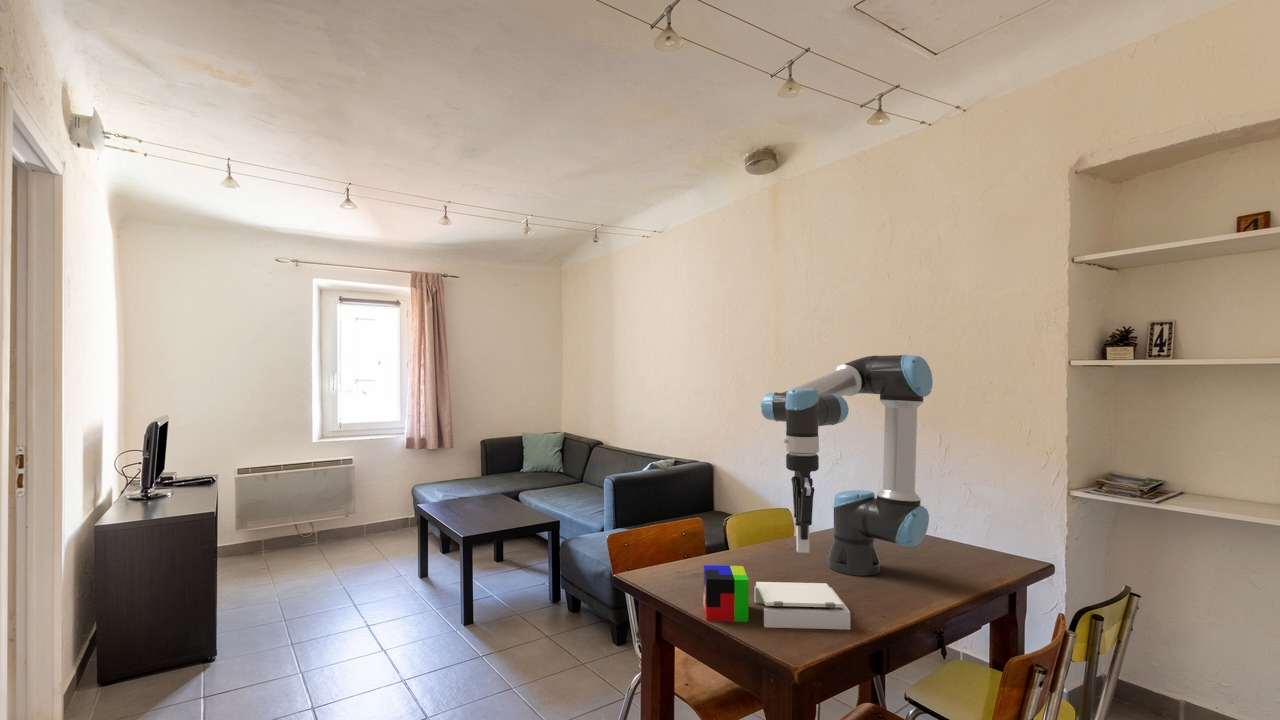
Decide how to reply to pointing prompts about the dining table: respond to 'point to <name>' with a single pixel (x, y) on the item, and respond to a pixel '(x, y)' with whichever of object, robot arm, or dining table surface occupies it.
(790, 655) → the dining table surface
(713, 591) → the puzzle toy
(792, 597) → the cover
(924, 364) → the robot arm
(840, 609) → the white hinged box
